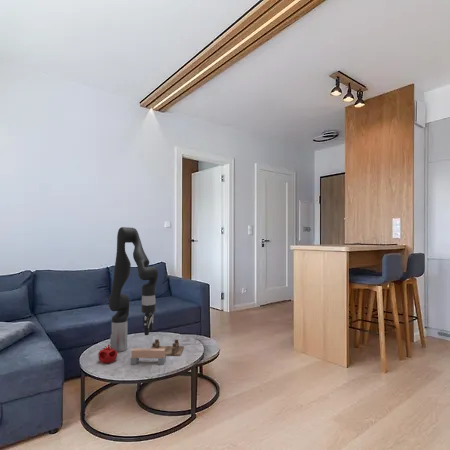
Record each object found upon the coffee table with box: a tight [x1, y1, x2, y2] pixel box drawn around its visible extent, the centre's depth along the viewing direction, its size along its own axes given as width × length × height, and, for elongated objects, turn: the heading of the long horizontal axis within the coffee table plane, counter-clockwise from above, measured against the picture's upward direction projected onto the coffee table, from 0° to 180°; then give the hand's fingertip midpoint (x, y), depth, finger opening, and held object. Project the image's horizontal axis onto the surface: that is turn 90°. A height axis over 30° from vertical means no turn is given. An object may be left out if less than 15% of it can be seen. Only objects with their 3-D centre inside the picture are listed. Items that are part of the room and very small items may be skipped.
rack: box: [150, 338, 185, 357], centre depth 203 cm, size 20×14×6 cm
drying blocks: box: [130, 355, 167, 366], centre depth 186 cm, size 18×6×3 cm, turn 88°
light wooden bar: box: [130, 347, 165, 359], centre depth 186 cm, size 18×4×4 cm, turn 88°
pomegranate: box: [97, 344, 118, 364], centre depth 188 cm, size 10×10×9 cm
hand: (148, 332), depth 187 cm, fingers open, 8 cm apart
